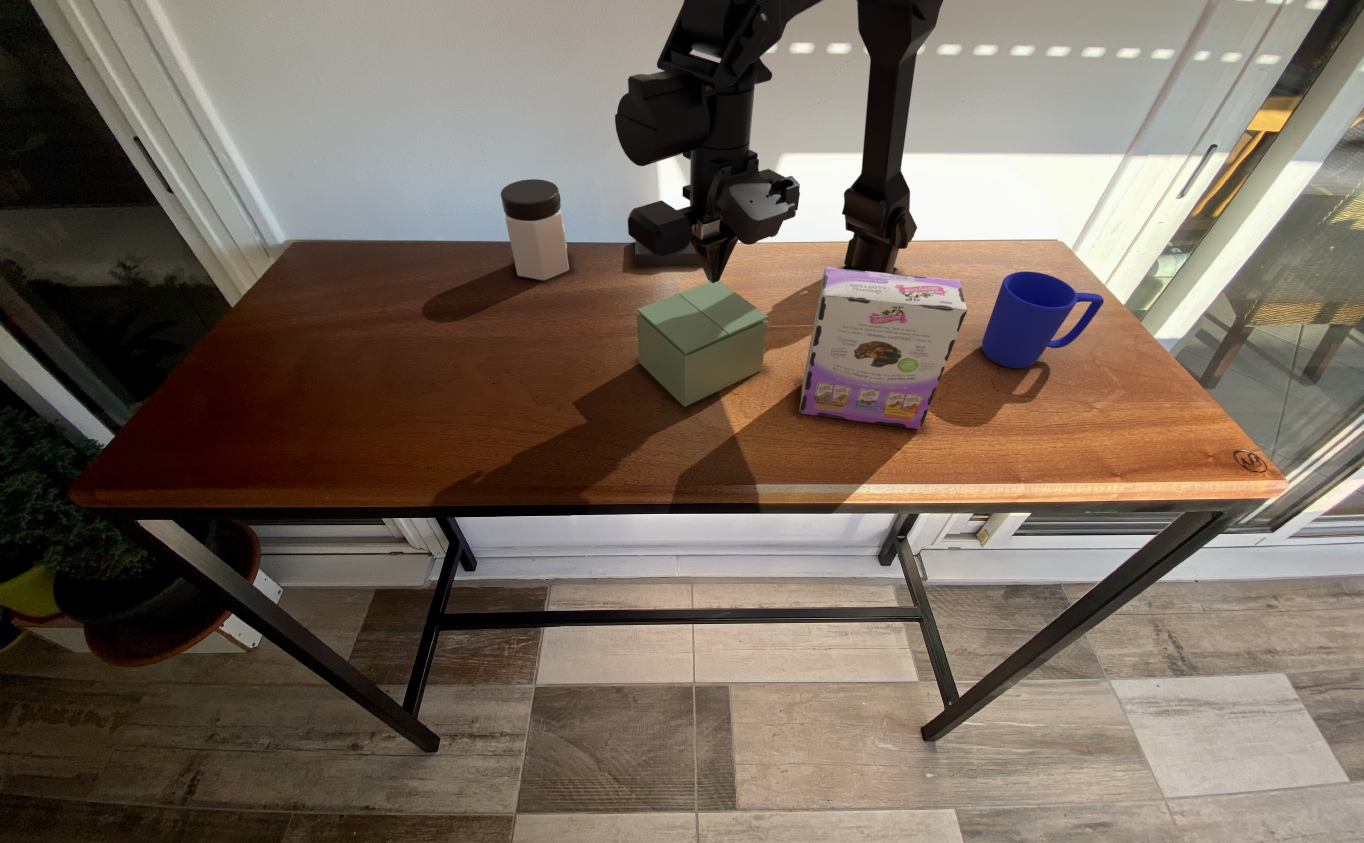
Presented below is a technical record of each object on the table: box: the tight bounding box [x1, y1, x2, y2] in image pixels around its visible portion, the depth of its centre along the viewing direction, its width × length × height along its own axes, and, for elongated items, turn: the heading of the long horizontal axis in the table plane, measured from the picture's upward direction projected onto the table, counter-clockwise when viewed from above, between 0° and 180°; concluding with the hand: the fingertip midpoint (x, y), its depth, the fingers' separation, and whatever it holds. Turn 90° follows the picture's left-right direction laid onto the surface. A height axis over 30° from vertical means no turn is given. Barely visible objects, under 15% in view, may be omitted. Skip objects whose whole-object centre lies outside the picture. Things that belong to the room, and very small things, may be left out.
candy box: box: [799, 266, 968, 430], centre depth 65 cm, size 14×6×16 cm, turn 78°
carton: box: [636, 293, 769, 408], centre depth 73 cm, size 12×10×8 cm
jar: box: [500, 178, 570, 282], centre depth 88 cm, size 9×8×12 cm
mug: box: [981, 270, 1105, 369], centre depth 74 cm, size 8×12×10 cm
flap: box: [678, 280, 769, 335], centre depth 71 cm, size 6×10×1 cm, turn 35°
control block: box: [634, 239, 702, 267], centre depth 94 cm, size 11×8×4 cm
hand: (713, 281), depth 68 cm, fingers closed
